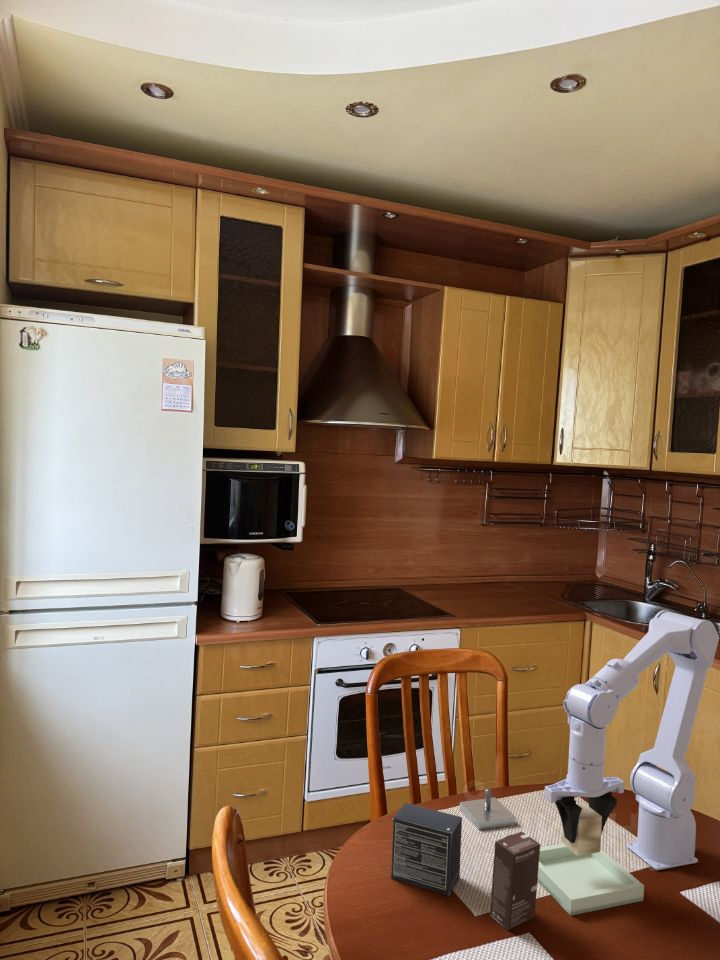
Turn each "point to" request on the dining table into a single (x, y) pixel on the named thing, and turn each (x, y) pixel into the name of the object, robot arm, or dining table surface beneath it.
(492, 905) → the box
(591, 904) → the tray
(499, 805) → the silver peg base
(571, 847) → the birch block
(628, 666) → the robot arm
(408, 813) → the small box
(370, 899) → the dining table surface
